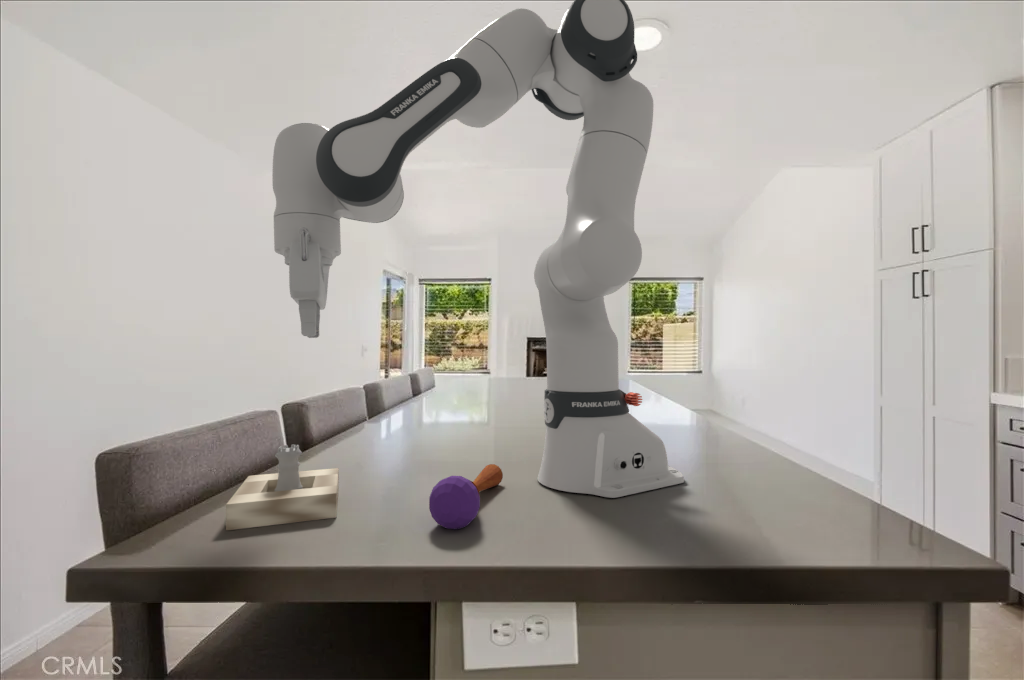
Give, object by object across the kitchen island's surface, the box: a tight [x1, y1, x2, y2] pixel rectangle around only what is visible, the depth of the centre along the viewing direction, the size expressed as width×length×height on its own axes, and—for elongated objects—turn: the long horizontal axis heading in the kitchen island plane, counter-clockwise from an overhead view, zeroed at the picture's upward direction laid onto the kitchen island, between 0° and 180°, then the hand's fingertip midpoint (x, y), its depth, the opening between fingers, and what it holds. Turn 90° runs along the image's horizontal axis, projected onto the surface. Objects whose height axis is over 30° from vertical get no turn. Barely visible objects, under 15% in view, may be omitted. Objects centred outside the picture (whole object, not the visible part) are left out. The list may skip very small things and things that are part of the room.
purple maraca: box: [428, 463, 504, 530], centre depth 63 cm, size 6×6×20 cm
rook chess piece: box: [274, 444, 303, 491], centre depth 63 cm, size 4×4×8 cm
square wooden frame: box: [225, 467, 340, 531], centre depth 63 cm, size 12×13×3 cm
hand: (311, 337), depth 68 cm, fingers open, 8 cm apart
